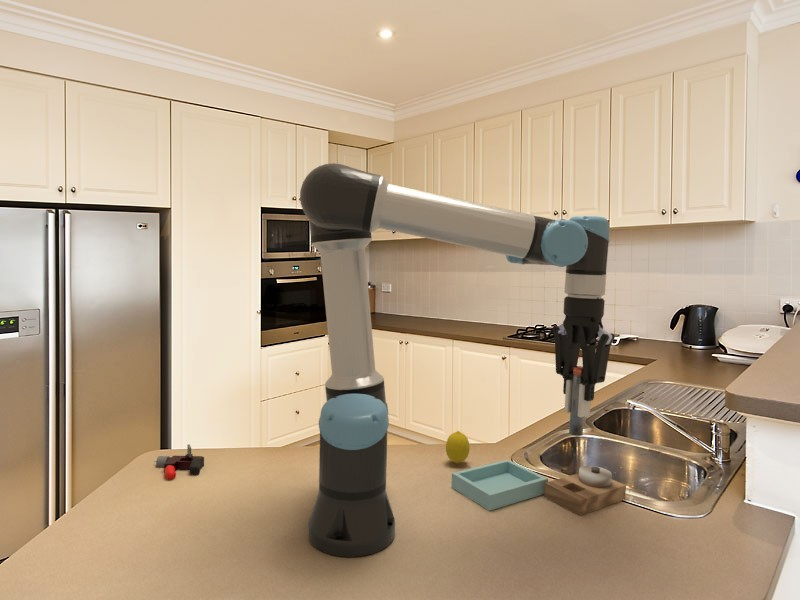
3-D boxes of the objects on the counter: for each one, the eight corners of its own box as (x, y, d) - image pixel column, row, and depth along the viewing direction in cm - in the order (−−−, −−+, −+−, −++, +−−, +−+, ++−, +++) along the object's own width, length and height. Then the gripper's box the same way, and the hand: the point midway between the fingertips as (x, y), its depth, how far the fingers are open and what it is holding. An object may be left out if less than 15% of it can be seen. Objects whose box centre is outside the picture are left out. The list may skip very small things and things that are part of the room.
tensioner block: (579, 515, 102) (581, 486, 102) (544, 497, 110) (545, 469, 109) (625, 499, 110) (626, 472, 109) (588, 483, 117) (590, 457, 117)
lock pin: (576, 436, 105) (581, 369, 104) (566, 432, 107) (570, 366, 106) (585, 434, 106) (589, 368, 105) (574, 430, 109) (579, 365, 107)
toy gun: (157, 463, 123) (156, 443, 122) (209, 465, 123) (209, 444, 122) (136, 481, 113) (136, 459, 113) (193, 483, 113) (193, 460, 113)
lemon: (467, 469, 123) (469, 436, 122) (444, 467, 124) (445, 433, 123) (469, 460, 128) (470, 428, 128) (446, 458, 129) (447, 426, 129)
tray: (489, 510, 103) (490, 495, 103) (451, 487, 113) (451, 473, 113) (547, 493, 112) (547, 478, 112) (507, 472, 122) (507, 459, 122)
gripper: (631, 299, 100) (623, 422, 102) (565, 293, 113) (559, 401, 115) (606, 300, 96) (597, 427, 98) (540, 293, 109) (534, 405, 111)
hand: (577, 413), depth 106 cm, fingers closed on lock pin, 2 cm apart
